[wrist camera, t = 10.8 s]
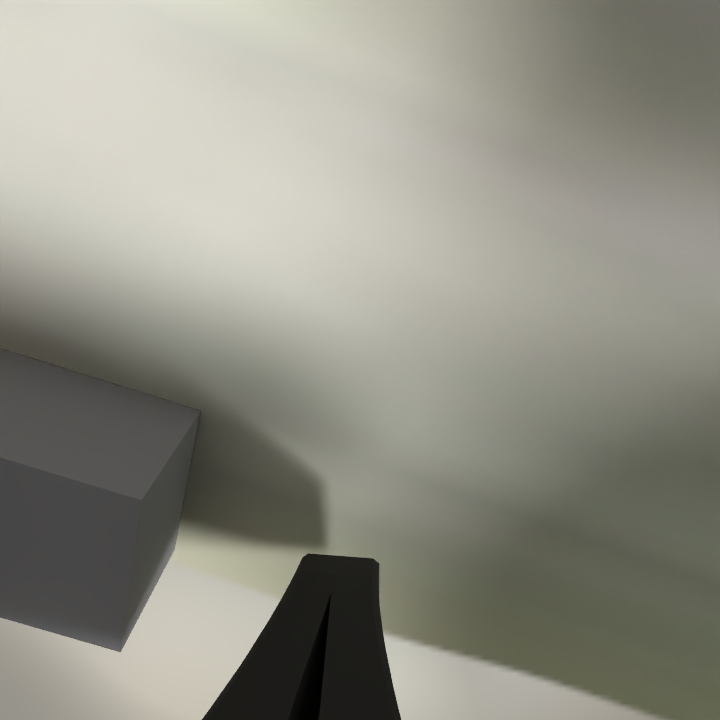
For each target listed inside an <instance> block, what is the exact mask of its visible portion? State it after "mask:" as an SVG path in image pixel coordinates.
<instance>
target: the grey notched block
mask: <svg viewBox="0 0 720 720" xmlns="http://www.w3.org/2000/svg"><path fill="white" fill-rule="evenodd" d="M200 413H201V411H200V410H196V409H193V408H190V407H187V406H183V405H180V404H177V403H174V402H171V401H167V400H164V399H161V398H158V397H155V396H151V395H148V394H145V393H142V392H138V391H135V390H132V389H129V388H126V387H122V386H119V385H116V384H113V383H110V382H106V381H103V380H100V379H97V378H93V377H90V376H87V375H84V374H81V373H77V372H74V371H71V370H68V369H65V368H61V367H58V366H55V365H52V364H48V363H45V362H42V361H39V360H36V359H32V358H29V357H26V356H23V355H20V354H16V353H13V352H10V351H7V350H3V349H0V617H1V618H4V619H8V620H11V621H15V622H18V623H22V624H25V625H29V626H32V627H35V628H39V629H42V630H46V631H50V632H53V633H56V634H60V635H63V636H67V637H70V638H74V639H77V640H80V641H84V642H87V643H91V644H94V645H98V646H101V647H104V648H108V649H111V650H115V651H118V652H121V650H122V648H123V646H124V645H125V643H126V641H127V639H128V637H129V635H130V633H131V631H132V629H133V628H134V625H135V624H136V622H137V620H138V618H139V616H140V614H141V612H142V610H143V608H144V607H145V605H146V603H147V601H148V599H149V597H150V595H151V593H152V591H153V589H154V587H155V586H156V584H157V582H158V580H159V578H160V576H161V574H162V572H163V570H164V569H165V567H166V565H167V563H168V561H169V559H170V557H171V555H172V553H173V551H174V549H175V544H176V539H177V533H178V528H179V523H180V518H181V512H182V507H183V502H184V497H185V491H186V486H187V481H188V476H189V470H190V465H191V460H192V455H193V449H194V444H195V439H196V434H197V428H198V423H199V418H200Z"/></svg>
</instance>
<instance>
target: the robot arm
mask: <svg viewBox="0 0 720 720" xmlns="http://www.w3.org/2000/svg"><path fill="white" fill-rule="evenodd" d="M202 720H401V717H400V713H399V710H398V706H397V701H396V697H395V692H394V688H393V684H392V679H391V673H390V668H389V664H388V659H387V654H386V649H385V643H384V637H383V630H382V623H381V615H380V606H379V563H378V562H377V561H375V560H374V559H371V558H358V557H345V556H332V555H319V554H307V555H306V556H304V557H303V558H302V560H301V562H300V564H299V566H298V568H297V570H296V572H295V574H294V576H293V578H292V580H291V582H290V584H289V586H288V588H287V590H286V592H285V593H284V595H283V597H282V599H281V601H280V602H279V604H278V606H277V607H276V609H275V611H274V613H273V614H272V616H271V618H270V620H269V621H268V623H267V624H266V626H265V628H264V629H263V631H262V632H261V634H260V635H259V637H258V639H257V640H256V642H255V643H254V645H253V647H252V648H251V650H250V651H249V653H248V655H247V656H246V658H245V659H244V661H243V662H242V664H241V665H240V667H239V668H238V670H237V671H236V672H235V674H234V675H233V677H232V678H231V680H230V681H229V683H228V684H227V685H226V687H225V688H224V690H223V691H222V692H221V694H220V695H219V697H218V698H217V700H216V701H215V702H214V704H213V705H212V707H211V708H210V710H209V711H208V712H207V714H206V715H205V716H204V718H203V719H202Z"/></svg>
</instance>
